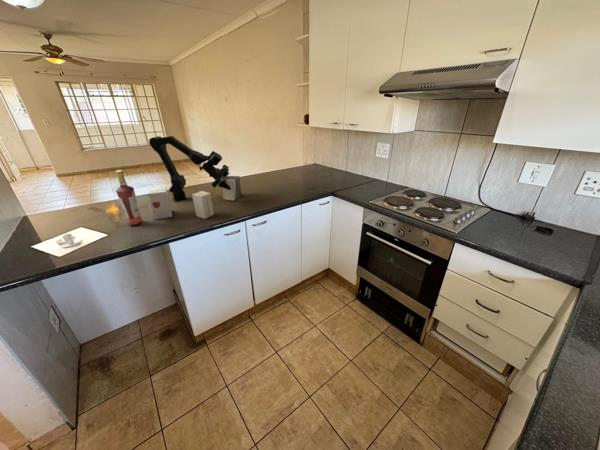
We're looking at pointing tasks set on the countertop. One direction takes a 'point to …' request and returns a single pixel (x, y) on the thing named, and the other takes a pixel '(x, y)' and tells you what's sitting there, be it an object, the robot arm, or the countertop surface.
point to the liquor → (128, 200)
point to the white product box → (160, 202)
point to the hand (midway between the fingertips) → (231, 188)
